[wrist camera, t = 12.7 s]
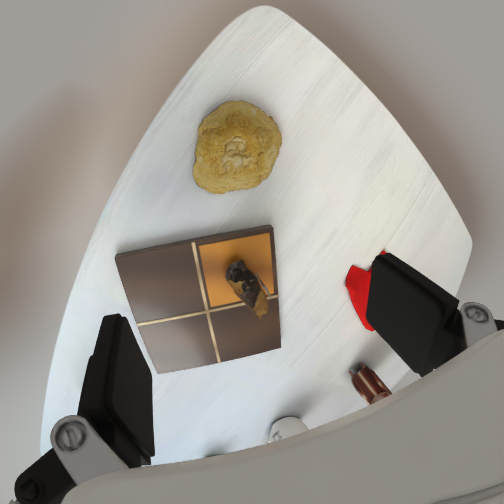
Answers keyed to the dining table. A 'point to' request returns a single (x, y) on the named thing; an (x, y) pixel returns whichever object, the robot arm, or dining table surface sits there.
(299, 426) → the mug
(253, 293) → the rock
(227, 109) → the fossil
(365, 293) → the cloth
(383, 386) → the alarm clock
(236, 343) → the board
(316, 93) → the dining table surface
